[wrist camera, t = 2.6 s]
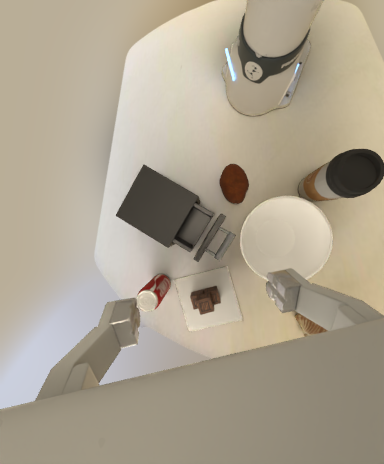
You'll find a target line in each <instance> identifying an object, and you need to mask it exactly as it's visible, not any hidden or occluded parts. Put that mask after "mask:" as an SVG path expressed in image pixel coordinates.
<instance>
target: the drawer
mask: <svg viewBox="0 0 384 464" xmlns="http://www.w3.org/2000/svg"><path fill="white" fill-rule="evenodd" d="M212 216H213V213H212V212H210V211H208V210H207V209H205V208H203V207H202V206H200V205H198V204H196V203H195V204H194V206H193V207H192V209H191V211H190V212H189V214H188V216H187V217H186V219H185V221H184V223H183V224H182V226H181V228H180V229H179V231H178V233H177V235H176V236H175V238H174V240H173V241H172V242H174V243H175V244H177V245H179V246H180V247H182V248H184V249H185V250H187V251H188V252H191V251H192V249H193V248H194V246H195V244H196V243H197V241H198V239H199V238H200V236H201V234H202V233H203V231H204V229H205V228H206V226H207V224H208V223H209V221H210V219H211V218H212ZM225 217H226V216H224V215H223V214H220V215H219V217H218V218H217V220H216V222H215V223H214V225H213V227H212V228H211V230H210V232H209V233H208V235H207V237H206V238H205V240H204V242H203V243H202V245H201V246H200V248H199V250H198V251H197V253H196V255H195V257H194V260H196V261H198V262H199V260H200V258H201V257H202V255H203V253H204V252H205V251H206V252H208V253H209V254H211V255H213V256H214V258H215V259H217V260H219V261H220V260H221V258H222V257H223V255H224V253H225V252H226V250H227V249H228V247H229V245H230V244H231V242H232V240H233V239H234V237H235V236H236V235H235V234H233V233H231V232H228V231H226V230H225V229H223V228H221V227H220V225H221V224H222V222H223V220H224V219H225ZM218 229H219V230H221V231H223V232H224V233H226V234H228V235H227V237H226V238H225V240H224V242H223V243H222V245H221V247H220V248H219V250H218V251H217V253H216V254H215V253H213V252H211V251H210V250H208V249H206V248H207V247H208V245H209V243H210V242H211V240H212V238H213V237H214V235H215V234H216V232H217V230H218Z"/></svg>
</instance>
